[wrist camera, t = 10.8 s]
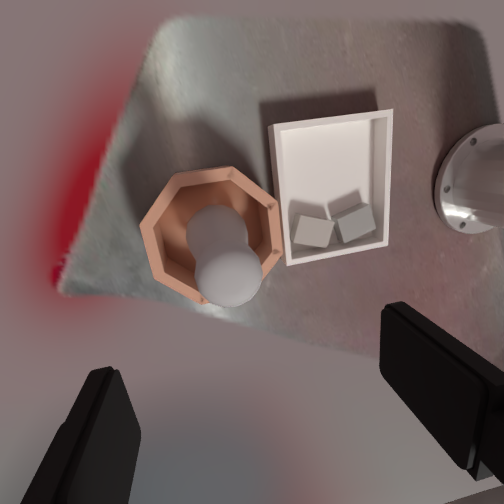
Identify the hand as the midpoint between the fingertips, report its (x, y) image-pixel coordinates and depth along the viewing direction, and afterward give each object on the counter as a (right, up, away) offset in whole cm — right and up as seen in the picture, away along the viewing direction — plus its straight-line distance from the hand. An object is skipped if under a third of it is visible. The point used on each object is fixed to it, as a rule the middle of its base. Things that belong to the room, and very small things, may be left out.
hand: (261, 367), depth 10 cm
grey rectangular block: (+11, +8, +23) cm, 26 cm away
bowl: (-4, +7, +20) cm, 21 cm away
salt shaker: (-4, +6, +19) cm, 21 cm away
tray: (+8, +11, +21) cm, 25 cm away
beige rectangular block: (+6, +7, +22) cm, 24 cm away
